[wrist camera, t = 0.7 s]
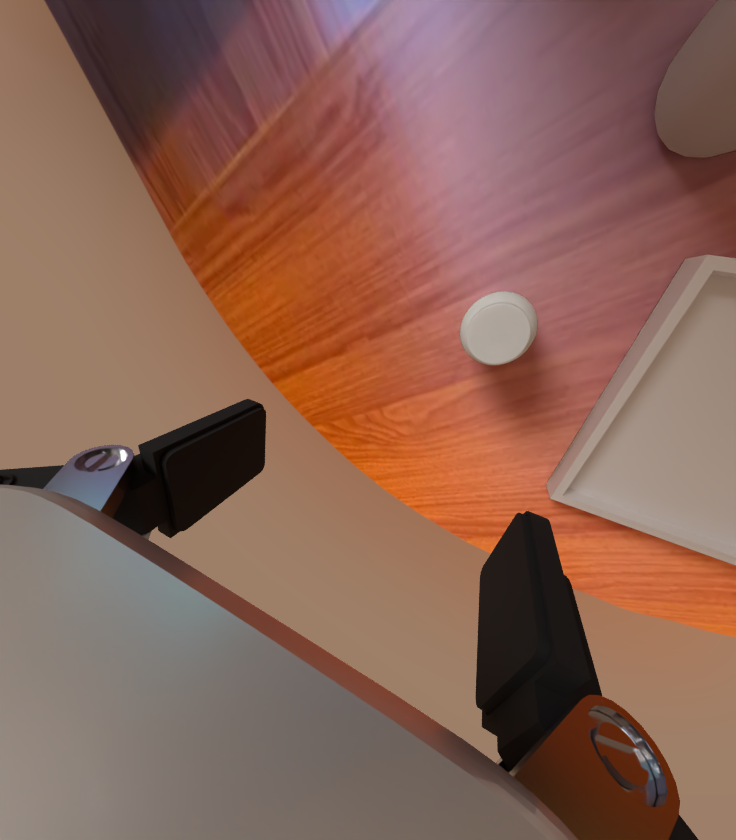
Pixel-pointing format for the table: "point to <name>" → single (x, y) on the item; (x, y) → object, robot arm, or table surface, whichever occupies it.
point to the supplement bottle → (498, 328)
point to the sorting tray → (668, 422)
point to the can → (702, 89)
